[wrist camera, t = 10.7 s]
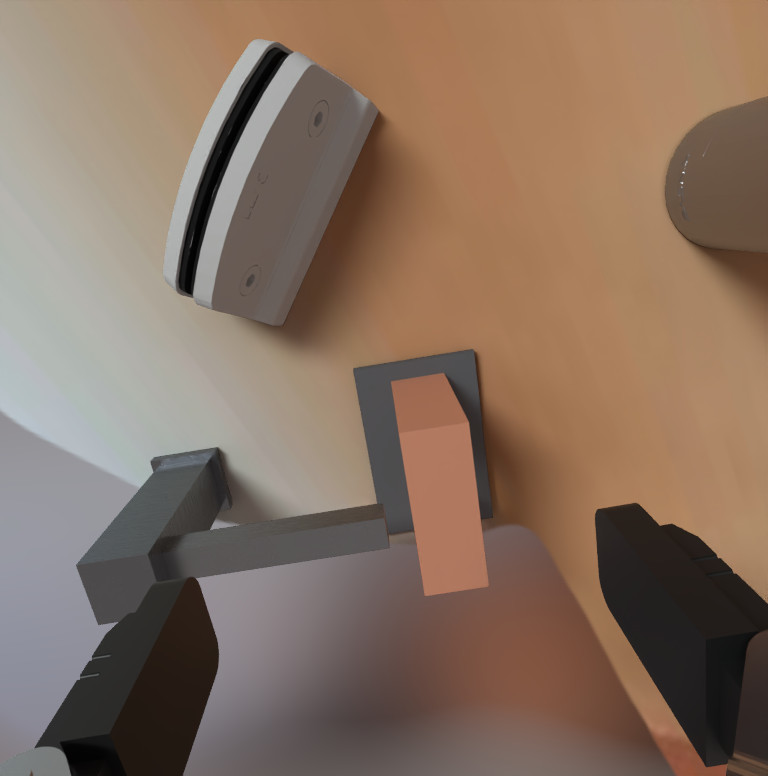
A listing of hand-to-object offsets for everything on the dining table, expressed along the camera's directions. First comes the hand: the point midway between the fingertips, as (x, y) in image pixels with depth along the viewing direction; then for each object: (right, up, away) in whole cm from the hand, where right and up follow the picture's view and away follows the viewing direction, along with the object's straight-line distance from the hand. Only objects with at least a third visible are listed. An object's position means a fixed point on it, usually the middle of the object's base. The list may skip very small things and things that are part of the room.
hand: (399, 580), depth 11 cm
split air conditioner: (-8, +17, +27) cm, 33 cm away
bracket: (-9, -3, +33) cm, 34 cm away
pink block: (+3, -1, +32) cm, 32 cm away
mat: (+3, -1, +33) cm, 33 cm away
